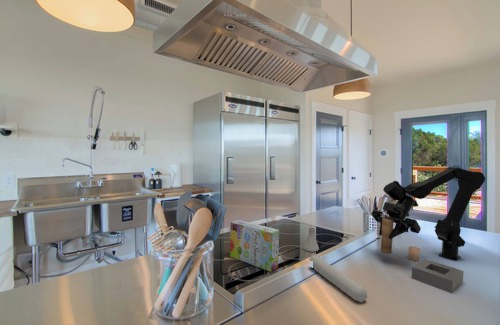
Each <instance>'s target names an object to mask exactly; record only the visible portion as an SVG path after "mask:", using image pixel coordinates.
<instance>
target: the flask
mask: <svg viewBox="0 0 500 325" xmlns="http://www.w3.org/2000/svg"><path fill="white" fill-rule="evenodd" d="M307 229H308V235H307V238H306V241H305V243H304V246H303V248H302V250H303V251H306V252H309V253H310V252H311V253H316V252H315V251H317V252H319V251H320V247H319V244H318V242H317V238H316V234H315V232H316V227H314V226H313V227H312V226H309V227H308V228H307ZM318 250H319V251H318Z"/></svg>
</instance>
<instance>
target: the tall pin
mask: <svg viewBox="0 0 500 325" xmlns="http://www.w3.org/2000/svg"><path fill="white" fill-rule="evenodd" d="M393 229H394V222H393V219H392V218H387V217H383V218H382V234H381V236H380V237H381V238H380V239H381V240H380V252H381V253H383V254H386V255H390V254H391V255H392V252H393V238H392V239H390V238H389V236H390V234H391V232H392V231H393Z"/></svg>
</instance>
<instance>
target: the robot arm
mask: <svg viewBox="0 0 500 325" xmlns="http://www.w3.org/2000/svg"><path fill="white" fill-rule="evenodd" d="M453 179H457V184H458V190H457V192H456V194H455V197H454V198H453V201H452V203H451V205H450V207H449V209H448V211H447V214H446V216H445V218H444V219H442V220H441V219H438V220H437V221H436V224H435V226H434V232H435V234H436V236H437V237H436V238H437V240H440V241H441V243H442V244H441V252H440V253H438V257H443V258H447V259H450V260H452V261H453V260H454V261H458V260H459V259H461V256H462V255H459V248H461V247H464V246H465V244H466V241H465V240H464V239H463V237H461V232H462V230H461V224H460V222H461V220H462V218H463V216H464V214H465V212H466V209H467V206H468V205H469V203H470V200H471V198H472V196H473V194H474V193H475V192H476V191H479V189H480V188H482V186H483V185H484V183H485V180H486V177H485V176H484V173H482V172H481V171H475V170H474V171H473V170H466V169H463V168H461V167H456V166H449V167H447V168H446V169H444V170H443V171H440V172H438V173H437V174H435V175H432V176H430V177H428V178H426V179H425V180H422V181H415V182H412V183H409V184H408V185H407V186H403V185H401V183H400V182H399V181H397V180H393V181H392V182H390V183H388V184H385V186H384V187H383V192H384V193H385V194H386V195H387V196H388V197H389V198H390V199H392V201H396V203H395V204H394V203H391V202H386V201H385V202H384V203H383V207H382V210H383V211H386V212H385V213H386V214H384V212H383V211H382V210H377V209H373V210H372V211H371V213H370V215H371V216H372V217H373V219H374V221H376V222H377V223H380V224H379V225H380V226H379V231H378V234H379V236H380V237H381V234H382V218H383V217H387V218H392V219H393V224H394V227H393V231H392V232H391V234H390V236H389V238H390V239H392V240H393V238H396V237H398V236H400V235H402V234H404V233H409V231H410V232H411V233H413V234H419V233H420V231H422V230H421V226H420V224H419V222H418V221H417V219H413V218H409V216H410V211H411V210H412V208H413V207H419V203H418V202H417V200H416V199H418V200H424V199H425V198H426V197H428V196H429V195H430V194H431V193H432V191H433V190H434V189H437V188H439V187H440V186H442V185H444V184H446V183H448V182H451V180H453Z"/></svg>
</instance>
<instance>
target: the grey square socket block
mask: <svg viewBox="0 0 500 325" xmlns="http://www.w3.org/2000/svg"><path fill="white" fill-rule="evenodd" d="M464 272H465V271H464V270H461V269H459V268H455V267H452V266H450V265H449V266H448V265H447V264H446V265H445V264H443V263H439V262H436V261H434V260H429V259H426V258H424V259H422V260H421V261H419V262H418V263H416V264H415V265H412V268H411V278H412V279H415V280H416V281H419V282H421V283H425V284H427V285H429V286H433V287H436V288H438V289H441V290H443V291H446V292H448V293H454V292H455V290H457V288H459V287H460V286H461V284H462V283H463V282H464Z"/></svg>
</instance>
